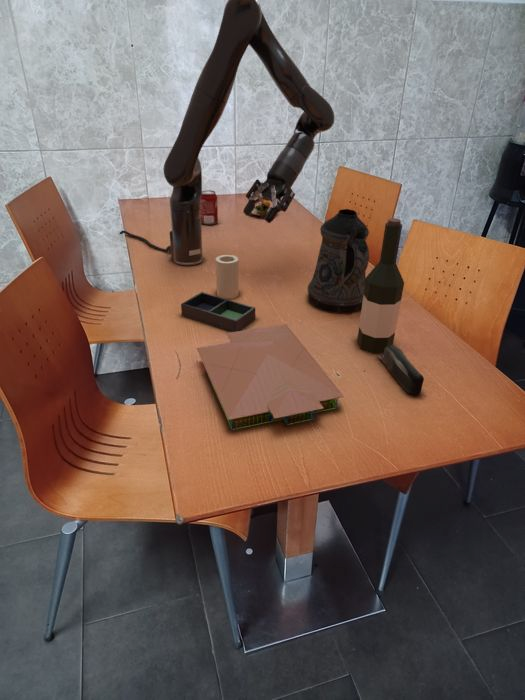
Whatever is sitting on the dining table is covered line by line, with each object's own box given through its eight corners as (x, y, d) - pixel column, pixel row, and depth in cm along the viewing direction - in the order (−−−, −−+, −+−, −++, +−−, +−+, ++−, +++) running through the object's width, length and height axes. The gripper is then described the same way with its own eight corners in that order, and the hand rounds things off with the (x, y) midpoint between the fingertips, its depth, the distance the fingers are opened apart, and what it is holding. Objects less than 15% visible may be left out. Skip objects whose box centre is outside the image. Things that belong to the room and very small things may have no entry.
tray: (181, 315, 129) (180, 303, 128) (202, 303, 136) (201, 291, 134) (236, 333, 122) (236, 321, 120) (255, 319, 128) (255, 307, 127)
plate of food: (250, 209, 214) (250, 191, 210) (277, 211, 212) (278, 193, 208) (245, 217, 203) (245, 199, 199) (274, 219, 202) (275, 200, 198)
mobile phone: (427, 376, 99) (390, 338, 111) (414, 378, 98) (378, 339, 110) (422, 396, 102) (387, 356, 114) (409, 398, 101) (375, 358, 113)
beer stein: (332, 283, 149) (340, 198, 136) (387, 304, 137) (402, 214, 124) (294, 299, 139) (300, 209, 126) (351, 324, 127) (363, 228, 114)
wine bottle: (371, 357, 114) (392, 228, 98) (349, 340, 120) (365, 217, 105) (399, 349, 117) (424, 223, 102) (377, 333, 124) (396, 212, 108)
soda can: (215, 226, 193) (214, 194, 187) (198, 224, 194) (197, 193, 188) (219, 221, 199) (219, 190, 192) (203, 219, 200) (202, 189, 193)
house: (233, 443, 88) (232, 407, 84) (192, 350, 115) (190, 319, 111) (348, 418, 95) (353, 383, 91) (285, 335, 121) (287, 305, 117)
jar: (212, 295, 140) (211, 260, 135) (224, 287, 145) (224, 253, 139) (230, 300, 137) (230, 264, 132) (242, 292, 142) (242, 257, 136)
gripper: (262, 155, 139) (231, 204, 138) (299, 163, 131) (267, 215, 130) (274, 172, 145) (245, 219, 144) (311, 181, 137) (281, 231, 136)
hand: (256, 217), depth 137 cm, fingers open, 8 cm apart
